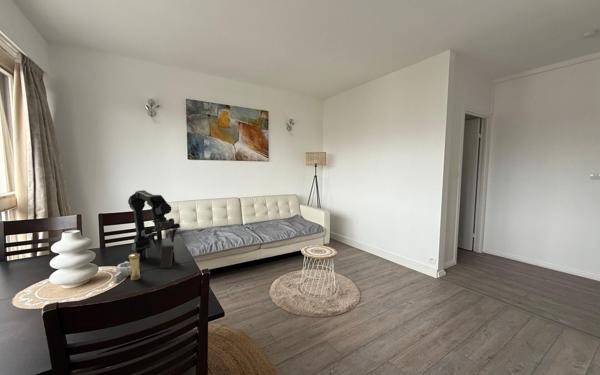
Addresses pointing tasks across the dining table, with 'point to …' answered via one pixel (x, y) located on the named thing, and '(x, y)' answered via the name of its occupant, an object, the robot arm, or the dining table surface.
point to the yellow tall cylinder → (134, 266)
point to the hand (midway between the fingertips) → (164, 244)
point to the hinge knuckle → (122, 271)
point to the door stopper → (167, 257)
